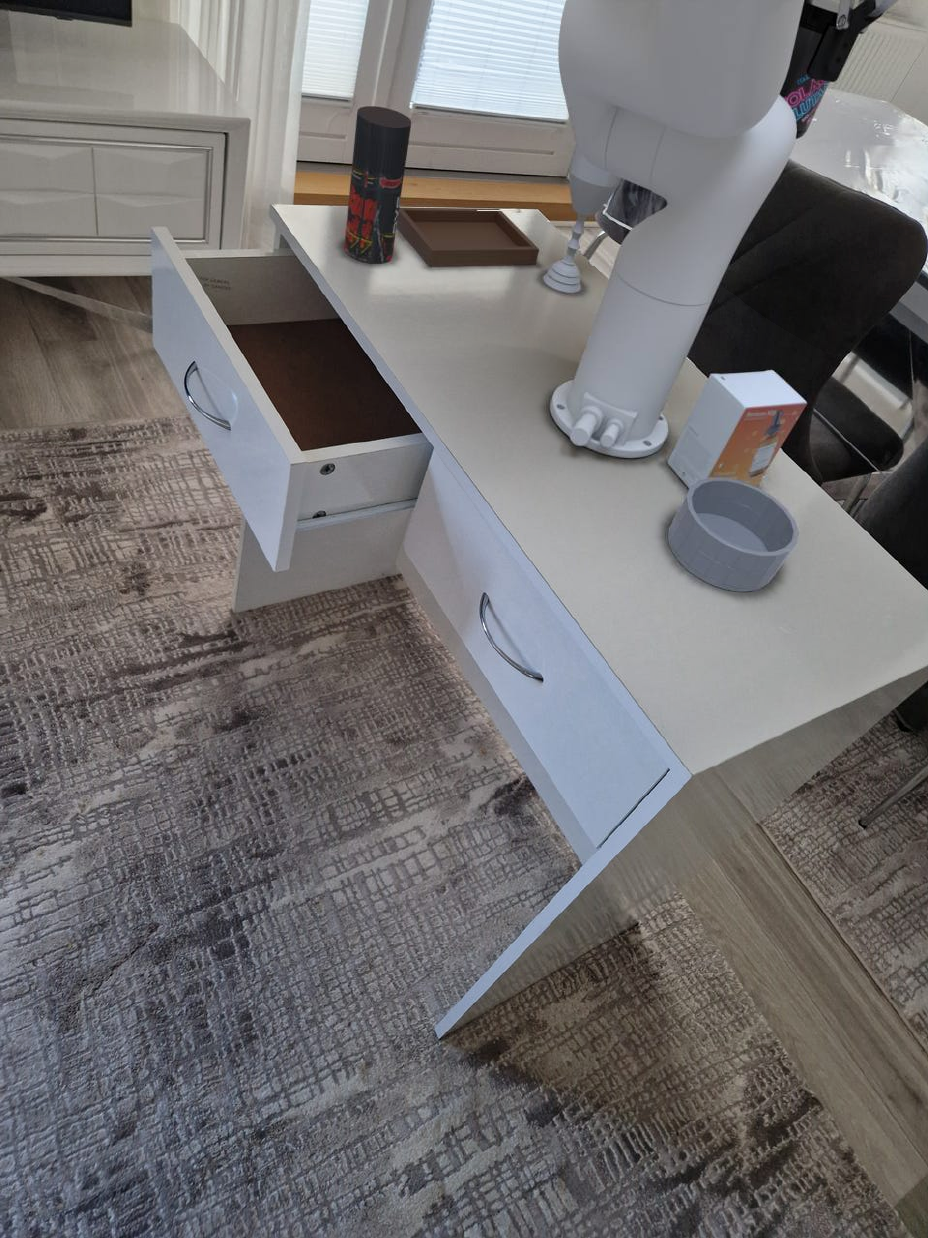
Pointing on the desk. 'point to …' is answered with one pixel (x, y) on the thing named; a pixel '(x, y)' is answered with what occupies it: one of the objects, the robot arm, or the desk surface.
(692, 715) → the desk surface
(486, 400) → the desk surface
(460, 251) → the walnut tray
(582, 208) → the chalice
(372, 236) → the deodorant
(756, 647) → the desk surface
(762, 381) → the small box
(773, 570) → the gray bowl
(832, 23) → the supplement container
